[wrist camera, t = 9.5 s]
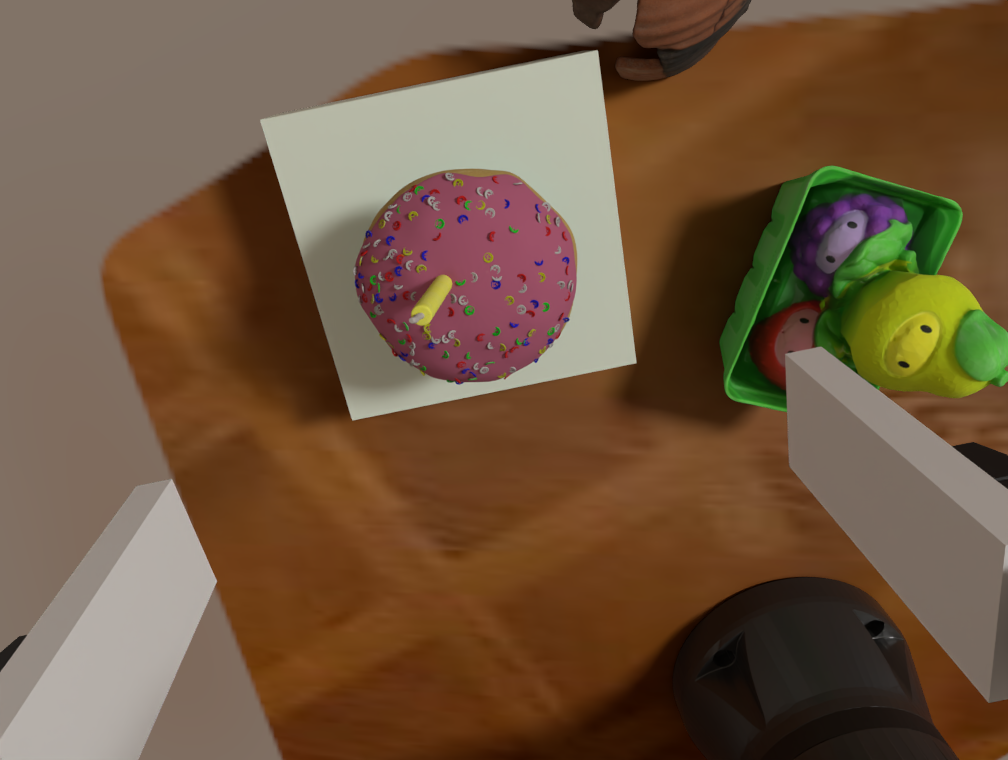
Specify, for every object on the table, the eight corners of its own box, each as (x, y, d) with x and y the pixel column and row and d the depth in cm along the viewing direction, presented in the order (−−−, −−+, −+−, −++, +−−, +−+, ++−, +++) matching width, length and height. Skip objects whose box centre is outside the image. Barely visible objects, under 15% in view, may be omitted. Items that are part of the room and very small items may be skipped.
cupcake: (341, 298, 33) (289, 417, 22) (413, 116, 30) (393, 149, 19) (513, 367, 35) (544, 508, 24) (596, 202, 32) (672, 277, 21)
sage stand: (618, 334, 39) (636, 362, 35) (361, 386, 39) (352, 420, 36) (581, 51, 33) (597, 49, 30) (280, 113, 34) (259, 119, 30)
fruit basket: (769, 147, 36) (900, 183, 26) (927, 193, 37) (1110, 245, 27) (687, 358, 40) (770, 462, 30) (831, 392, 42) (958, 503, 31)
